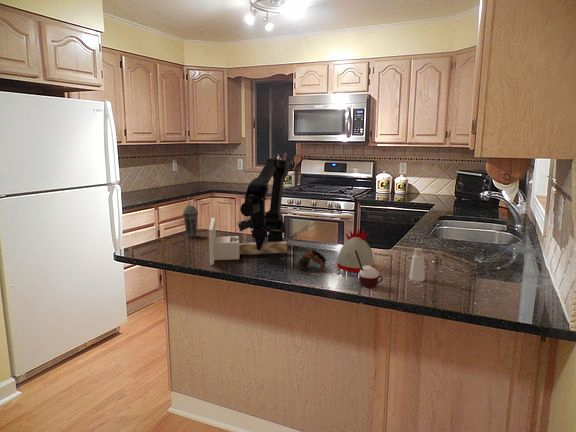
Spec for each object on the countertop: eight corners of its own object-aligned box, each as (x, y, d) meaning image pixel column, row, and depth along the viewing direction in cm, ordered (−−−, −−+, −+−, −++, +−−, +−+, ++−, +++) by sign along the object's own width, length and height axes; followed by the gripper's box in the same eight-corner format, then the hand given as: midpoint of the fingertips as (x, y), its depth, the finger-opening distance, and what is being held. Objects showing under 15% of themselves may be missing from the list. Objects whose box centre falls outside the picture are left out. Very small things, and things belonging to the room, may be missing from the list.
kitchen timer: (371, 273, 152) (373, 233, 150) (334, 270, 156) (335, 231, 154) (375, 263, 166) (376, 226, 163) (340, 260, 169) (341, 223, 167)
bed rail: (285, 249, 181) (285, 238, 180) (287, 253, 175) (287, 241, 174) (232, 251, 178) (232, 239, 177) (232, 255, 172) (232, 243, 171)
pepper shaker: (418, 282, 143) (420, 251, 141) (405, 278, 147) (407, 248, 145) (428, 279, 146) (430, 249, 144) (415, 275, 150) (416, 245, 148)
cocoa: (382, 285, 141) (386, 250, 139) (379, 291, 136) (383, 255, 134) (354, 280, 145) (357, 247, 143) (350, 285, 139) (353, 250, 137)
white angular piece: (238, 248, 187) (238, 217, 185) (239, 263, 164) (239, 228, 161) (212, 248, 186) (211, 217, 183) (209, 264, 162) (208, 229, 160)
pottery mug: (304, 265, 164) (315, 248, 162) (321, 280, 159) (333, 263, 157) (287, 265, 154) (298, 246, 152) (304, 281, 149) (316, 262, 147)
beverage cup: (201, 235, 211) (200, 196, 208) (192, 238, 205) (191, 198, 201) (190, 234, 214) (188, 195, 211) (180, 237, 208) (179, 197, 204)
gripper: (238, 209, 181) (238, 244, 184) (238, 217, 163) (239, 255, 166) (263, 208, 183) (264, 243, 186) (267, 216, 165) (267, 254, 168)
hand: (258, 249), depth 176 cm, fingers closed on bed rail, 3 cm apart
